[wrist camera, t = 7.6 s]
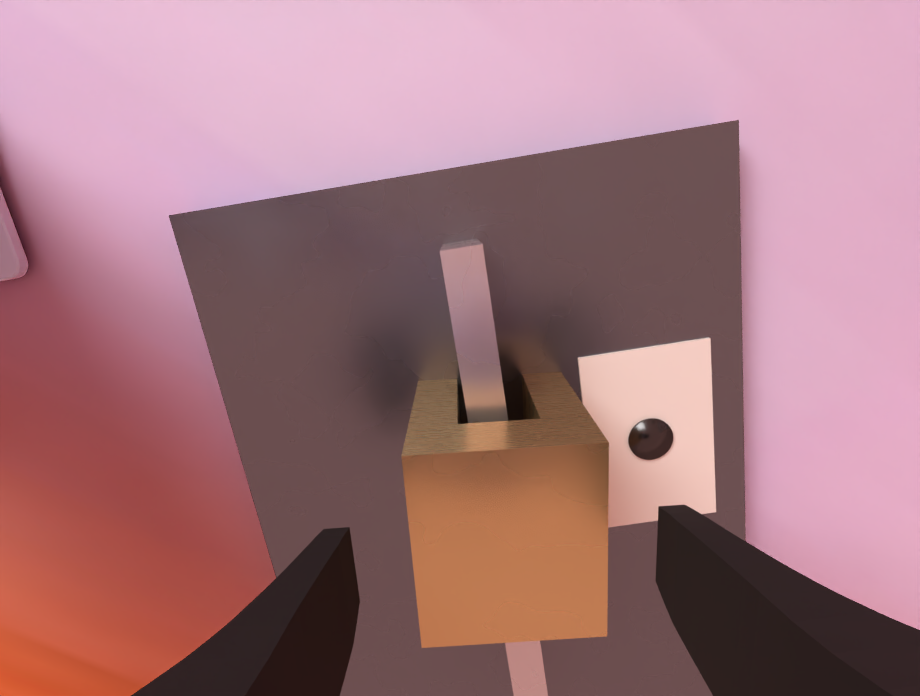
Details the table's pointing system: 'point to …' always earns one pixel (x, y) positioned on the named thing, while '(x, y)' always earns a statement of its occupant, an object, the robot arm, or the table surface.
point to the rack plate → (488, 373)
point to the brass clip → (507, 518)
